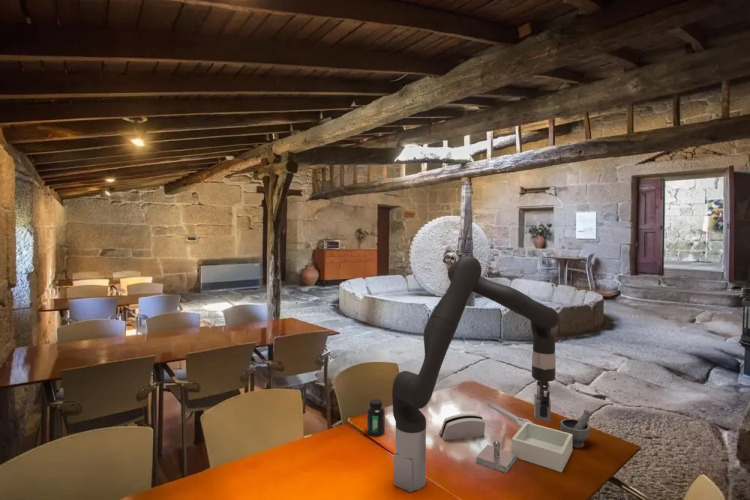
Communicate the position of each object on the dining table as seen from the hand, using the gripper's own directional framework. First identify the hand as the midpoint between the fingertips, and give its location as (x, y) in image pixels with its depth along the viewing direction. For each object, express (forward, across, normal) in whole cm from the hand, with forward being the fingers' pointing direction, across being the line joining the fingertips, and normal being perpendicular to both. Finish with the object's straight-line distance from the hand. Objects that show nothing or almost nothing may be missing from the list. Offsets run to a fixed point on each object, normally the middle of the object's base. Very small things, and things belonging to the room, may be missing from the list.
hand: (542, 413), depth 141 cm
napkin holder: (+14, -4, -27) cm, 31 cm away
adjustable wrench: (+15, -28, -10) cm, 33 cm away
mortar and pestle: (+14, -11, +13) cm, 22 cm away
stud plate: (+14, +10, -15) cm, 23 cm away
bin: (+14, 0, 0) cm, 14 cm away
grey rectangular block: (+1, 0, 0) cm, 1 cm away
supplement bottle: (+14, +2, -59) cm, 61 cm away
